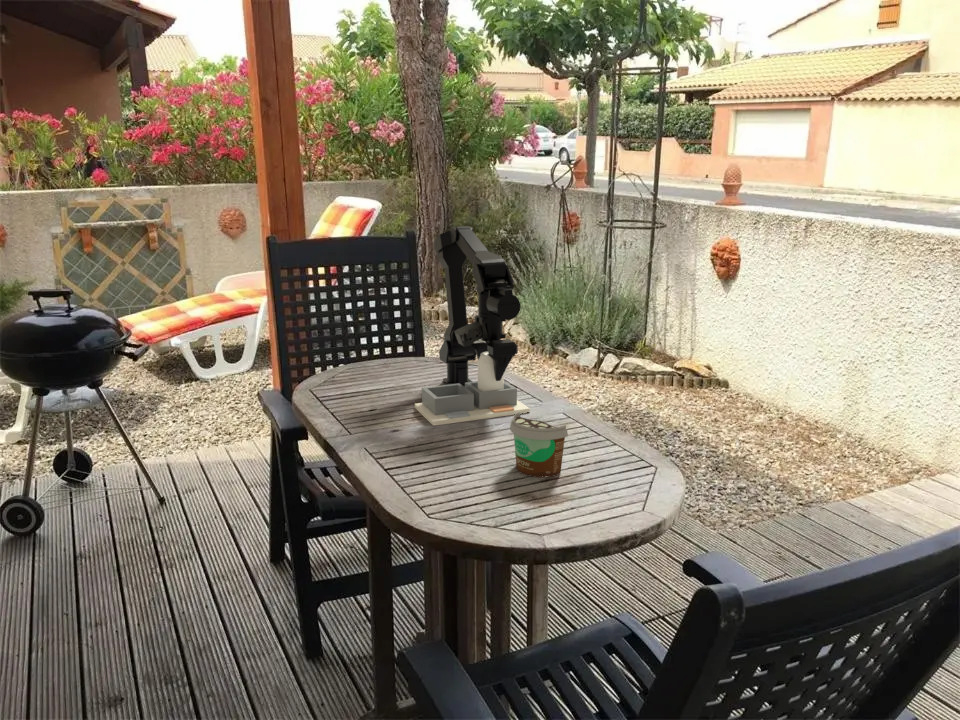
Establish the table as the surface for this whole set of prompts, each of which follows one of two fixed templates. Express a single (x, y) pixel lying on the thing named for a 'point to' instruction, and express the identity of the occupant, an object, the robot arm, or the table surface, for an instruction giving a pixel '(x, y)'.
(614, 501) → the table surface
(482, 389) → the beverage can
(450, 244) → the robot arm
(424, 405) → the socket board
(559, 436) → the food container
